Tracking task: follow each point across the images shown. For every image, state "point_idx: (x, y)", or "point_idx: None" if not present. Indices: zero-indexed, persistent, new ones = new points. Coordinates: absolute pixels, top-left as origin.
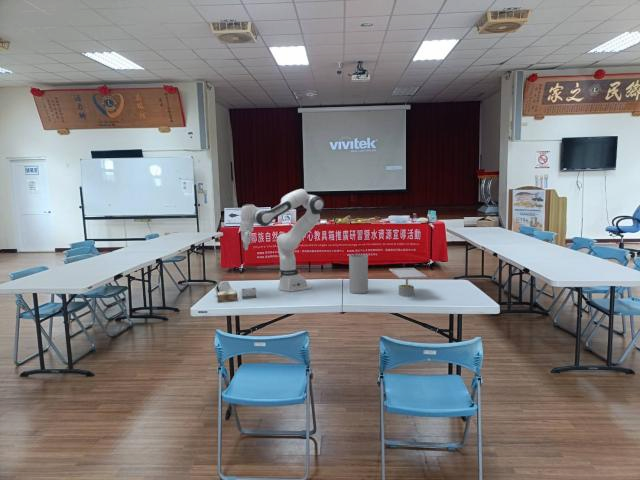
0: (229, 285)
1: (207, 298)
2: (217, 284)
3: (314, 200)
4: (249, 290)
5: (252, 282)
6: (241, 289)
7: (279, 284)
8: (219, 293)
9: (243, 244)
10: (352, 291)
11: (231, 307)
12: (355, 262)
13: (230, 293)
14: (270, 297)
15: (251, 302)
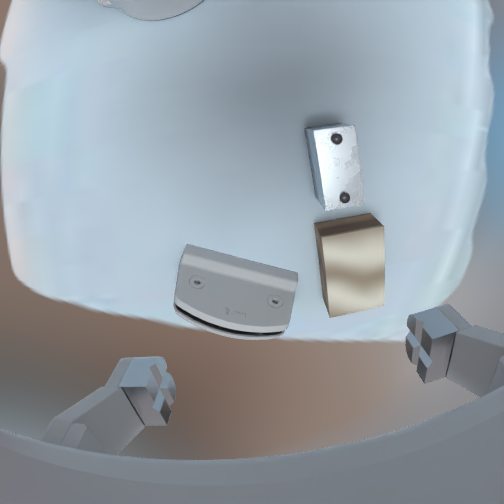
0: (184, 280)
1: (294, 334)
2: (254, 338)
3: None
4: (358, 163)
5: (22, 180)
6: (328, 209)
7: (160, 5)
8: (361, 304)
9: (132, 436)
10: None
11: (449, 231)
12: None
13: (378, 257)
14: (340, 55)
15: (410, 151)
